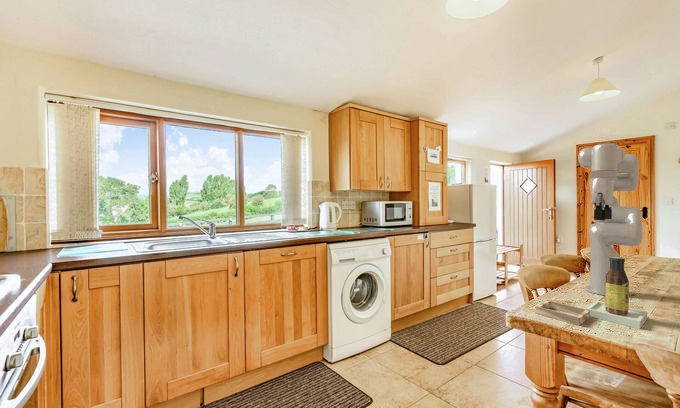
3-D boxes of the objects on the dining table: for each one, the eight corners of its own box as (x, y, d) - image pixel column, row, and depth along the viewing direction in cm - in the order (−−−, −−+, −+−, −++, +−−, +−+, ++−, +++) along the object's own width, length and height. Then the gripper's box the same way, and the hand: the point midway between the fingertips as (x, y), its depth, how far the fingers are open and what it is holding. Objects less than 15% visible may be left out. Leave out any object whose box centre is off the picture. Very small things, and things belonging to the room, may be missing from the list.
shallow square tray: (596, 306, 116) (596, 300, 115) (647, 318, 104) (647, 311, 104) (585, 315, 107) (585, 308, 107) (639, 329, 96) (639, 321, 96)
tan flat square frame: (547, 306, 116) (547, 300, 116) (589, 317, 105) (589, 310, 105) (535, 313, 109) (535, 306, 108) (579, 325, 98) (579, 318, 98)
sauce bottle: (630, 317, 101) (632, 260, 101) (606, 313, 105) (608, 258, 104) (625, 311, 107) (627, 257, 107) (602, 307, 110) (604, 255, 110)
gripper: (597, 177, 123) (596, 218, 123) (585, 175, 113) (584, 219, 113) (622, 176, 117) (620, 219, 117) (611, 174, 107) (610, 221, 107)
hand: (602, 219), depth 115 cm, fingers open, 9 cm apart
